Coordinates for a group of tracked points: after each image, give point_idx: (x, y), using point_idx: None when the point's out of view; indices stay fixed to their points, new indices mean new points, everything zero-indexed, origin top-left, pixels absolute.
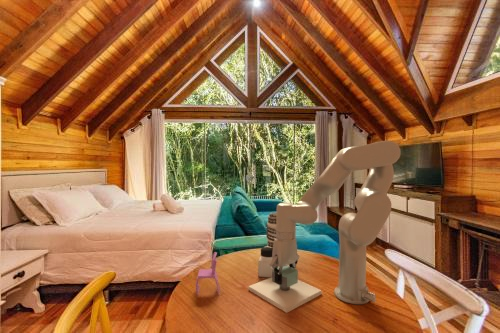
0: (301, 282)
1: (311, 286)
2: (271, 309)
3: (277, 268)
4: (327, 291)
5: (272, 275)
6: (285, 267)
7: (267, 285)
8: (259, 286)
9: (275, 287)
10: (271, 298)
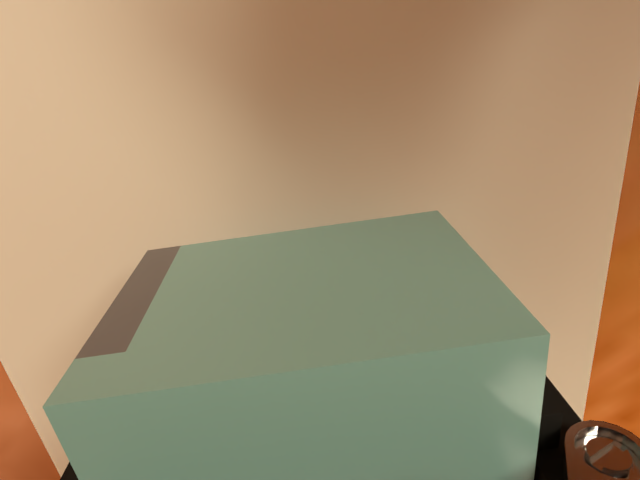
0: (580, 288)
1: (575, 393)
2: (9, 439)
3: (194, 444)
4: (636, 431)
5: (115, 311)
6: (415, 473)
7: (141, 136)
8: (3, 101)
9: (214, 238)
10: (36, 398)
